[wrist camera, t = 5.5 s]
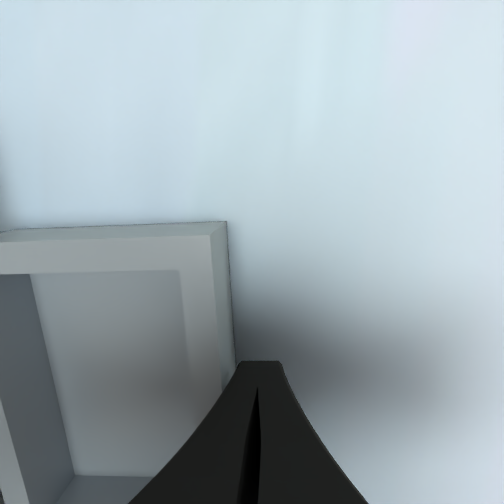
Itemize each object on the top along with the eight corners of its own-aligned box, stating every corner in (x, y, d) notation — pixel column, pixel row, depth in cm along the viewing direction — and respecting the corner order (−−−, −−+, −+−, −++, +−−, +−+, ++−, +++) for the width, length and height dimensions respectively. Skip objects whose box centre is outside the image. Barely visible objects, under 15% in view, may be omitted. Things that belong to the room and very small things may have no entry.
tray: (226, 221, 9) (209, 234, 7) (242, 475, 11) (235, 558, 9) (17, 229, 10) (-74, 245, 7) (72, 471, 12) (19, 549, 9)
